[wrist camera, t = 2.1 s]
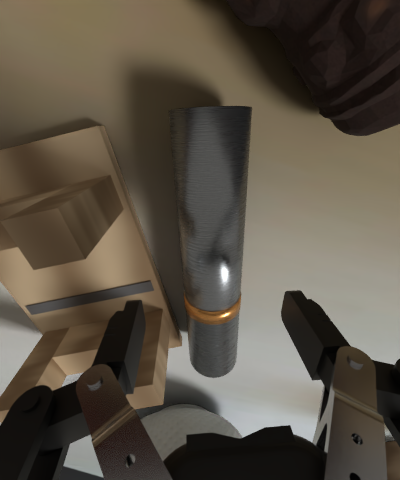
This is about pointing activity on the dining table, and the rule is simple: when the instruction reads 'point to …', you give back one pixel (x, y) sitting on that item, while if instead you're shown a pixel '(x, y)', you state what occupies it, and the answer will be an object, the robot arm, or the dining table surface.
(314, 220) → the dining table surface
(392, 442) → the planter box
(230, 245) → the tube
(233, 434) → the cereal bowl
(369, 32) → the dark brown boot
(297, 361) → the dining table surface
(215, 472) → the robot arm
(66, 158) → the cradle board
